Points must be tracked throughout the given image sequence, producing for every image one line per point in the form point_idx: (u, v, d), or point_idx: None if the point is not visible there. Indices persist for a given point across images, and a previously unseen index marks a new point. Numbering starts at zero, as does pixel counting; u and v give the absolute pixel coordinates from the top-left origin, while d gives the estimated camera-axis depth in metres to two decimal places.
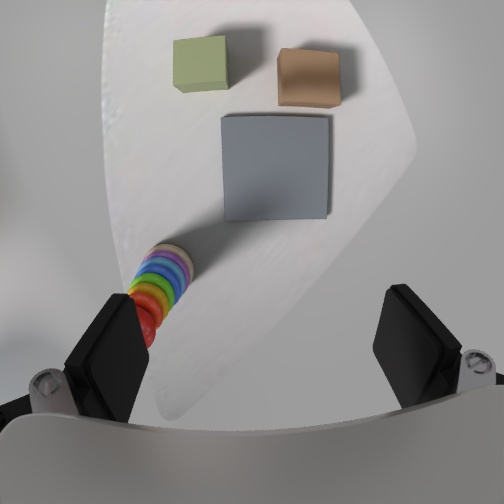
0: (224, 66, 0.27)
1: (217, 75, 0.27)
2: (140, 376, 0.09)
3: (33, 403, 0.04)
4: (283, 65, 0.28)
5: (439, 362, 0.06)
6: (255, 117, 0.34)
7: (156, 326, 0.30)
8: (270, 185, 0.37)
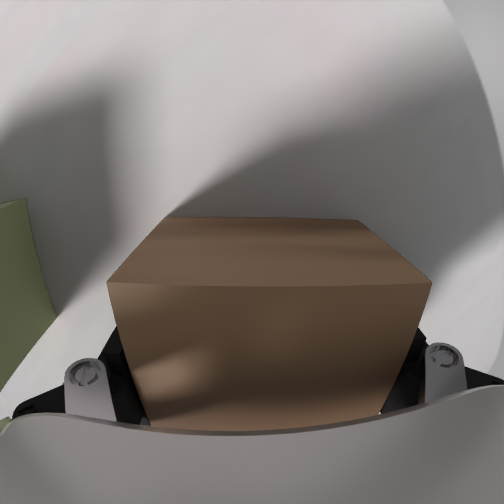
0: None
1: None
2: None
3: (67, 391, 0.05)
4: (134, 367, 0.06)
5: None
6: None
7: None
8: None
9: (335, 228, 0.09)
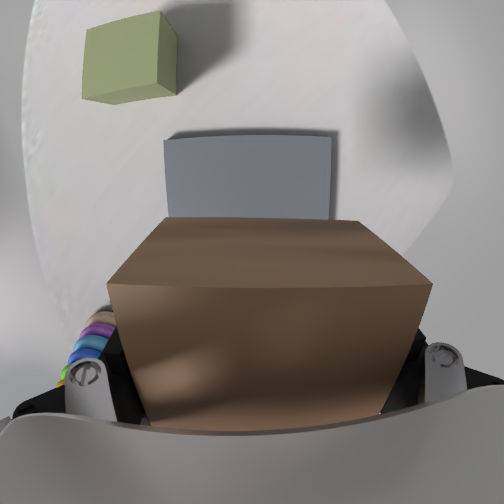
0: (155, 59, 0.15)
1: (144, 75, 0.16)
2: None
3: (67, 391, 0.05)
4: (135, 369, 0.06)
5: None
6: (216, 138, 0.22)
7: None
8: None
9: (336, 229, 0.09)
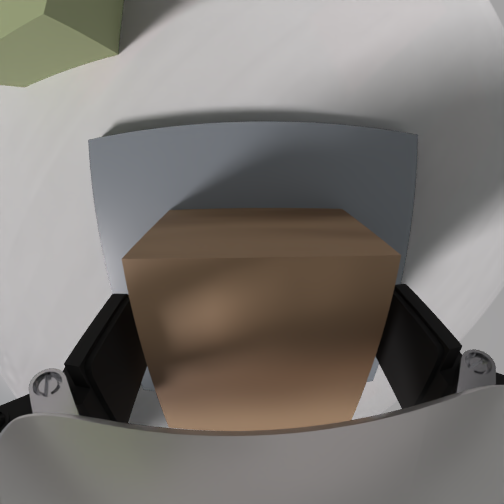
0: None
1: (25, 8, 0.04)
2: (140, 376, 0.09)
3: (33, 403, 0.04)
4: (143, 336, 0.07)
5: (439, 362, 0.06)
6: (188, 129, 0.10)
7: None
8: None
9: (320, 215, 0.10)
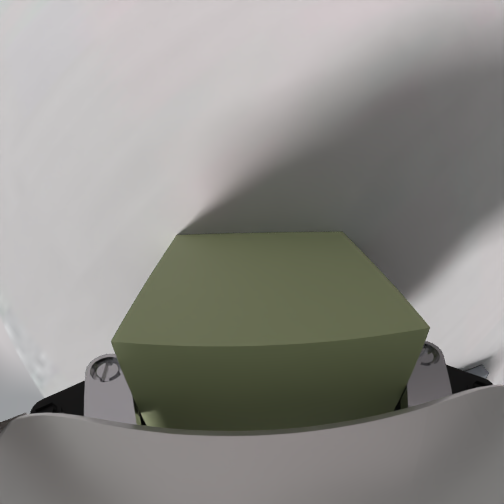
0: None
1: None
2: None
3: (87, 386, 0.05)
4: None
5: None
6: None
7: None
8: None
9: None
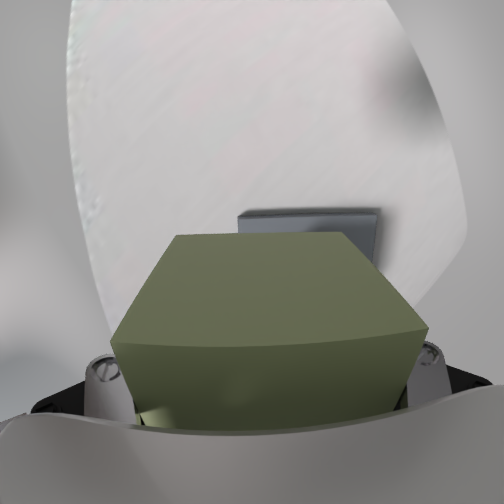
0: None
1: None
2: None
3: (87, 386, 0.05)
4: None
5: None
6: (284, 219, 0.27)
7: None
8: None
9: None
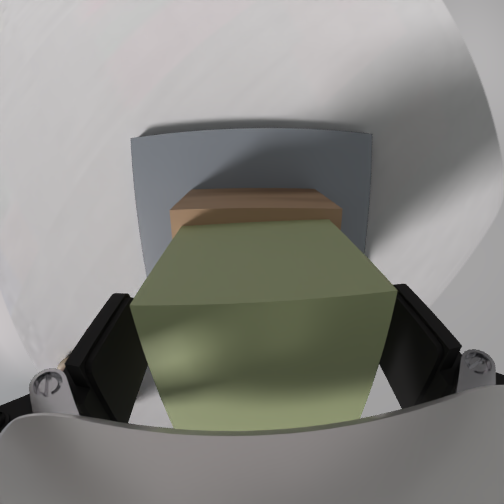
0: (361, 406, 0.07)
1: None
2: (140, 376, 0.09)
3: (33, 403, 0.04)
4: None
5: (439, 362, 0.06)
6: (205, 133, 0.15)
7: None
8: None
9: (296, 191, 0.15)
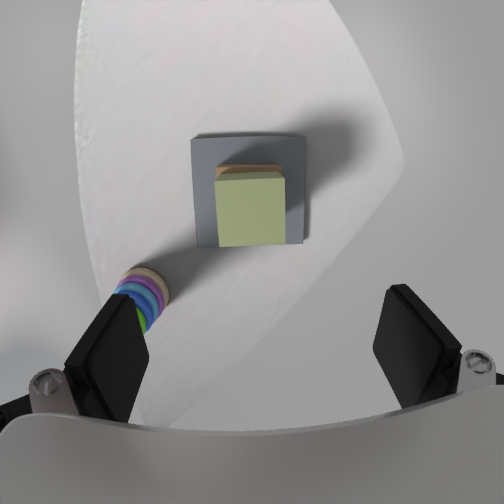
0: (284, 224, 0.26)
1: (275, 237, 0.26)
2: (140, 376, 0.09)
3: (33, 403, 0.04)
4: None
5: (439, 362, 0.06)
6: (226, 138, 0.33)
7: None
8: None
9: (267, 164, 0.33)
